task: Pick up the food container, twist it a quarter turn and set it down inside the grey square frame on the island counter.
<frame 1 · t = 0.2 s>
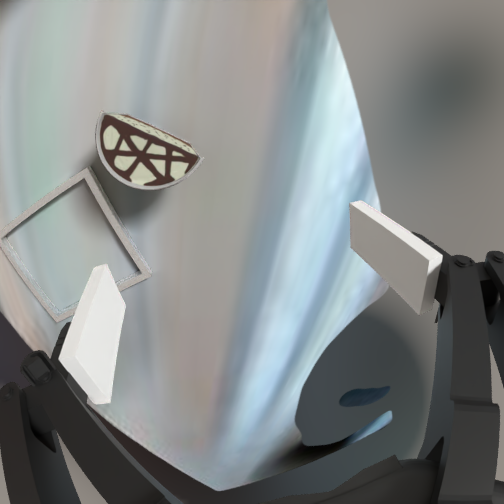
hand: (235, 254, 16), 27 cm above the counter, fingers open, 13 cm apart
grey square frame: (68, 251, 40), on the counter
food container: (148, 148, 36), on the counter
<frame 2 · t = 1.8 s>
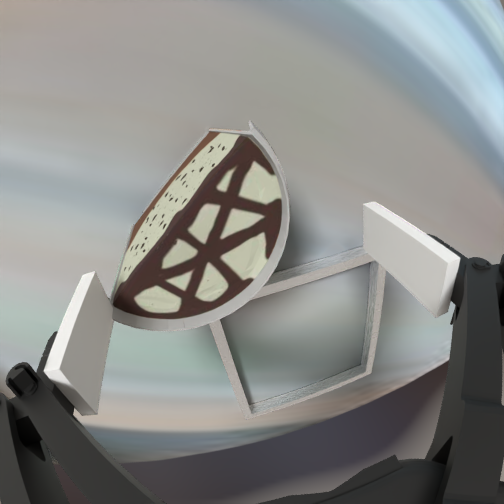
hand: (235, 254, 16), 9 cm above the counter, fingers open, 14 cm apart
grey square frame: (304, 341, 33), on the counter
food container: (199, 200, 23), on the counter, touching gripper
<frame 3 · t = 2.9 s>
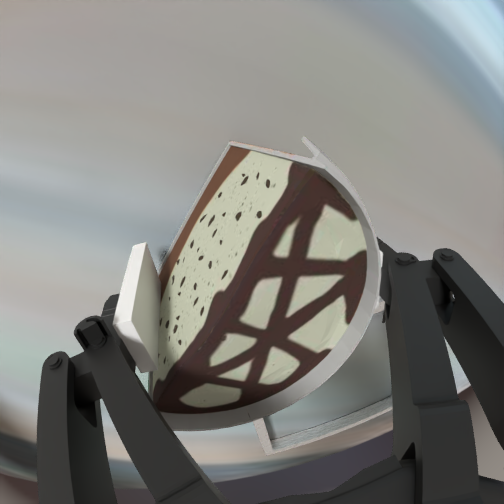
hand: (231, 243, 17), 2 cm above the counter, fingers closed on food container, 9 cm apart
grey square frame: (336, 378, 28), on the counter
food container: (233, 232, 19), on the counter, touching gripper
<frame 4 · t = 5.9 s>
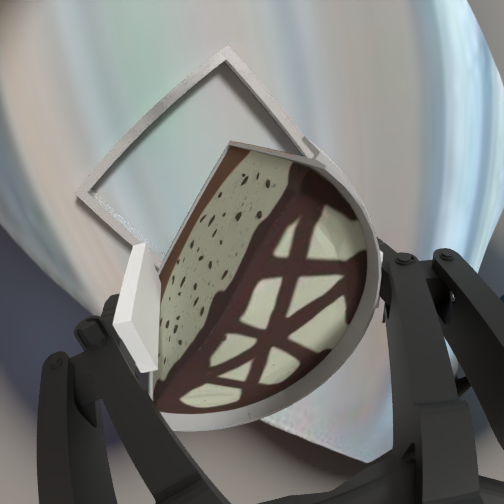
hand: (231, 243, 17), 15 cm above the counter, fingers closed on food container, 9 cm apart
grey square frame: (207, 179, 30), on the counter
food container: (233, 232, 19), point 13 cm above the counter, touching gripper
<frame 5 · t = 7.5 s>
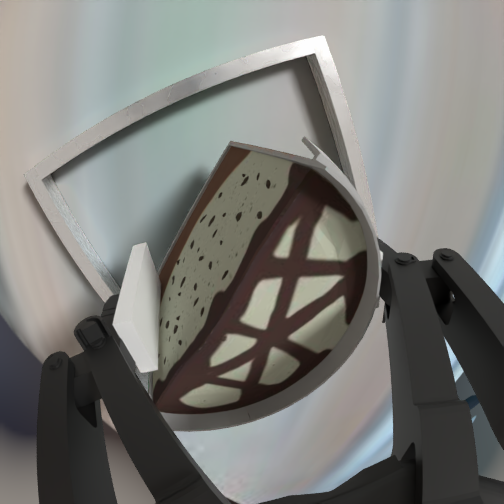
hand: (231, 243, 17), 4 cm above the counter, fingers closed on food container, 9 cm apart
grey square frame: (221, 216, 20), on the counter
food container: (233, 233, 19), point 2 cm above the counter, touching gripper
when the fingers open (2 cm above the counter, at t = 8.7 s): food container stays where it is, resting in grey square frame.
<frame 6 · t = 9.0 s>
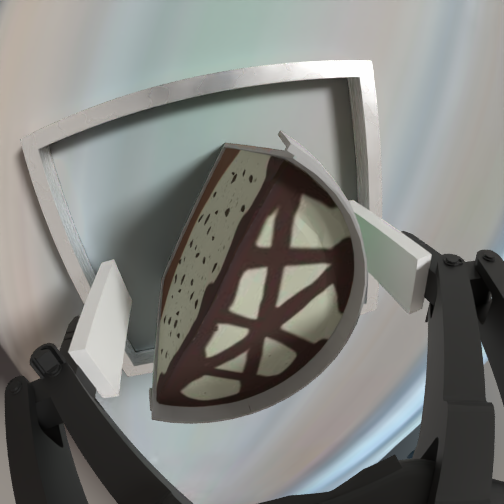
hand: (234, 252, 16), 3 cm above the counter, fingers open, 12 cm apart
grey square frame: (225, 228, 19), on the counter
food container: (234, 232, 19), resting in grey square frame
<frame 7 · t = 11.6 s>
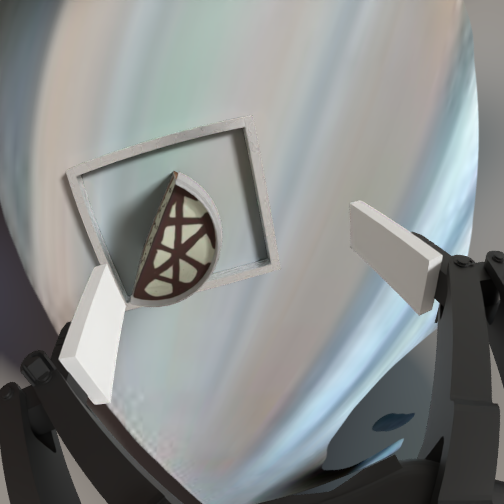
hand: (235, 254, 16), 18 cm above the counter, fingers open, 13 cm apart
grey square frame: (177, 217, 33), on the counter
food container: (183, 219, 33), resting in grey square frame
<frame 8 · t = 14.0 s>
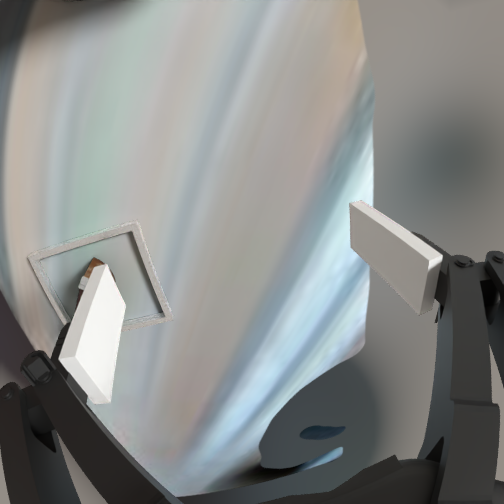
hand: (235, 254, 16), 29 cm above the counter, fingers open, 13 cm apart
grey square frame: (100, 285, 46), on the counter
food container: (104, 286, 46), resting in grey square frame
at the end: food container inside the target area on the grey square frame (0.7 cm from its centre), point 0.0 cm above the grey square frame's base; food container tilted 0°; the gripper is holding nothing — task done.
